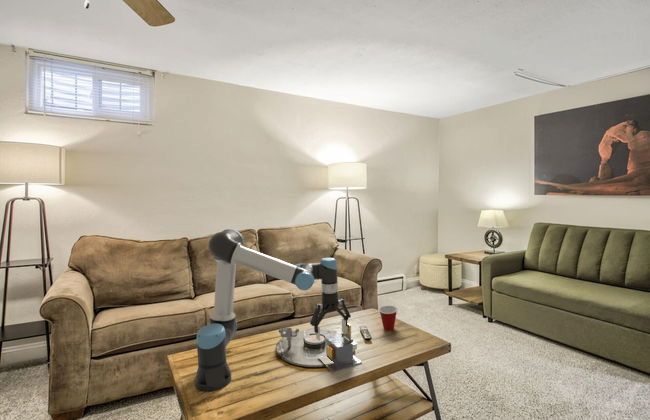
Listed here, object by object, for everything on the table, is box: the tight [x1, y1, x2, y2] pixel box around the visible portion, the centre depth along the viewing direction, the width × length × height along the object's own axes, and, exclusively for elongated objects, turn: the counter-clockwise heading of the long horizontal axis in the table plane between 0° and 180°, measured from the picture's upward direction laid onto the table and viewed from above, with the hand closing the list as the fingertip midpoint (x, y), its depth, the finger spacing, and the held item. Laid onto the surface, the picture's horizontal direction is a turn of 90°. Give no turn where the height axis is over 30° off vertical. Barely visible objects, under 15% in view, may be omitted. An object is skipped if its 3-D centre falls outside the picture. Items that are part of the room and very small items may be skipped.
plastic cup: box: [378, 305, 398, 332], centre depth 197 cm, size 11×11×12 cm
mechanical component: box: [278, 327, 300, 348], centre depth 177 cm, size 3×10×10 cm, turn 89°
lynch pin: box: [327, 341, 358, 359], centre depth 163 cm, size 14×5×5 cm, turn 116°
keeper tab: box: [342, 322, 352, 340], centre depth 164 cm, size 7×6×1 cm
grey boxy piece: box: [321, 332, 363, 373], centre depth 162 cm, size 16×14×11 cm
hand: (331, 336), depth 160 cm, fingers open, 13 cm apart
